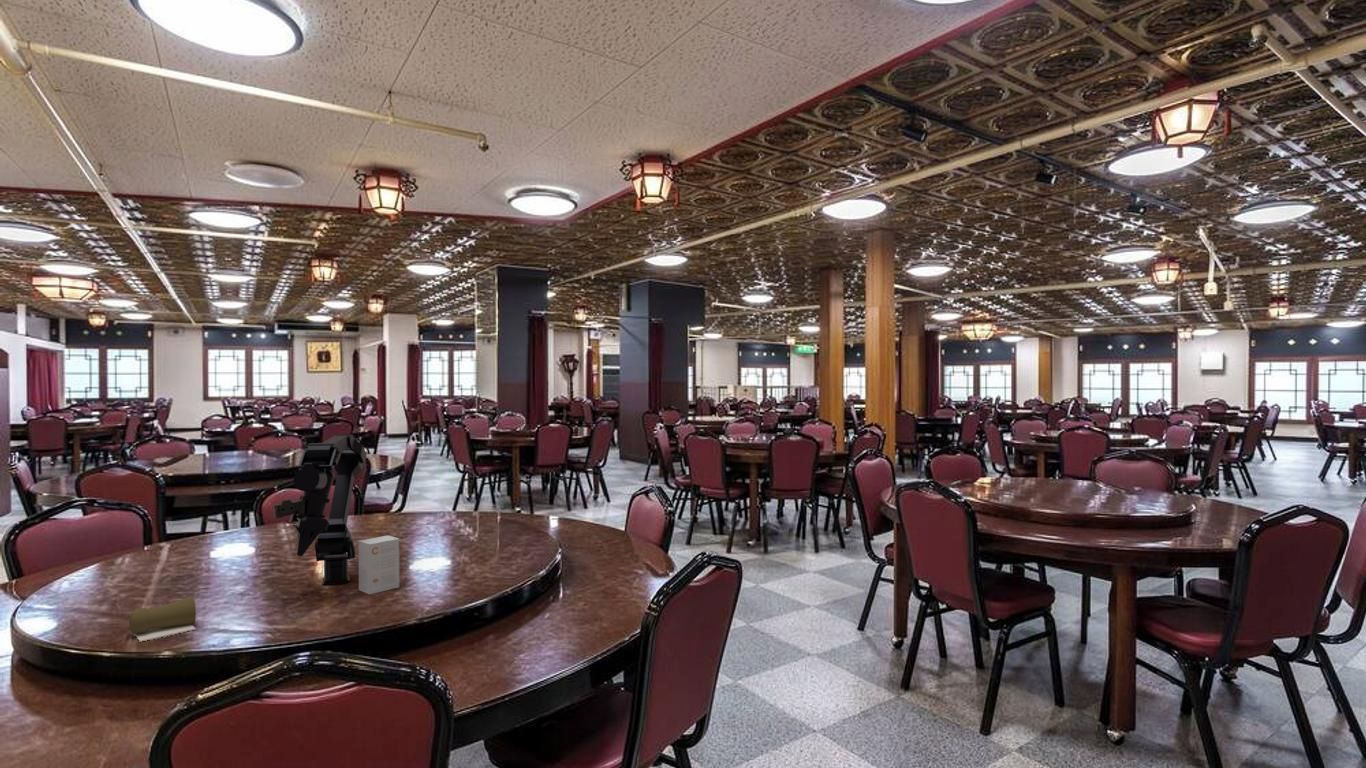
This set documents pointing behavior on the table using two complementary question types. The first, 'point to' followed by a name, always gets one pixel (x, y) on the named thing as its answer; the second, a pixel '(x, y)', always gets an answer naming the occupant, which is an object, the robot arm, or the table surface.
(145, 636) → the mat
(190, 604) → the cork
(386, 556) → the small box
